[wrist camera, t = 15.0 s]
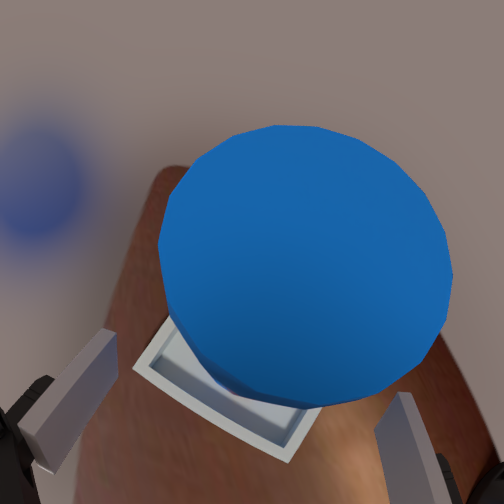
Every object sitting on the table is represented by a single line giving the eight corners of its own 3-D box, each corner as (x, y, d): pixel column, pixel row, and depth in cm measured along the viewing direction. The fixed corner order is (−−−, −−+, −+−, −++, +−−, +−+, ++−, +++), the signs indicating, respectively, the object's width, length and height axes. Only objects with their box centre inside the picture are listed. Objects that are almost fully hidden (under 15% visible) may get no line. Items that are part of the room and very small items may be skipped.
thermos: (190, 382, 31) (100, 347, 8) (219, 289, 35) (214, 100, 13) (292, 408, 30) (445, 425, 8) (314, 314, 35) (446, 170, 12)
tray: (358, 321, 36) (368, 314, 33) (282, 457, 29) (288, 463, 26) (228, 245, 39) (228, 233, 36) (139, 370, 31) (132, 368, 29)
